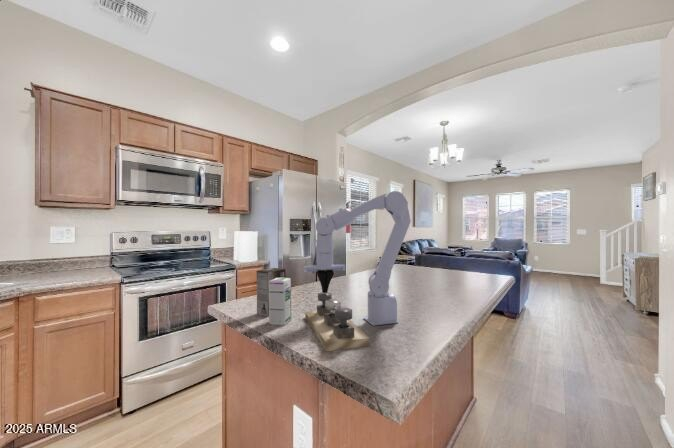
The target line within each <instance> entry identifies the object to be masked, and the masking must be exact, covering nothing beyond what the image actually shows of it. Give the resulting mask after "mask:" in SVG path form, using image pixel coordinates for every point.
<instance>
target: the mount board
mask: <svg viewBox="0 0 674 448" xmlns="http://www.w3.org/2000/svg"><path fill="white" fill-rule="evenodd" d="M304 314H305V320H306V321H307V322H308V324H309V326H310V327H311V329H312V331H313V332H314V334H315V335H316V337H317V339H318V340H319V342H320V343H321V345H322V348H323V349H324V350H325V351H326V352H331V351H339V350H348V349H353V348H360V347H367V346H368V347H369V346H371V345H370V341H371V340H370V337H369V336H368V335H367V334H366V333H365V332H364V331H363V330H361V328H359V327H358V326H357V324H355V323H354V322H353V321H352V320H351V319H350V320H347V327H345V328H342V327H340V320H337V319H335V316H333V317H332V316H330V310H329V309H326V308H323V307H322V304H317V305H316V310H313V311H305V313H304Z"/></svg>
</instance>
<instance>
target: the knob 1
mask: <svg viewBox="0 0 674 448" xmlns="http://www.w3.org/2000/svg"><path fill="white" fill-rule="evenodd" d="M332 296H333V294H332V292H329V291H328V292H327V293H323V292H322V291H321V292H318V293H317V301H319V302H322V303H321V305H322V307H323V308H325V301H326V300H329V299H333V297H332Z"/></svg>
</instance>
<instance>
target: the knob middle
mask: <svg viewBox="0 0 674 448" xmlns="http://www.w3.org/2000/svg"><path fill="white" fill-rule="evenodd" d="M325 308H326V309H329V310H330V316H332V317H333V316H335V309H337V308H342V300H341V299H337V298H334V299H333V298H332V299H329V300H326V301H325Z"/></svg>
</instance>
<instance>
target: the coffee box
mask: <svg viewBox="0 0 674 448" xmlns="http://www.w3.org/2000/svg"><path fill="white" fill-rule="evenodd" d="M275 278H287V277H286V268H279V267H272V268H271V267H270V268H266V269H260V270H256V314H257V315H260V316H264V317H268V318H269V281H270V280H273V279H275Z"/></svg>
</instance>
